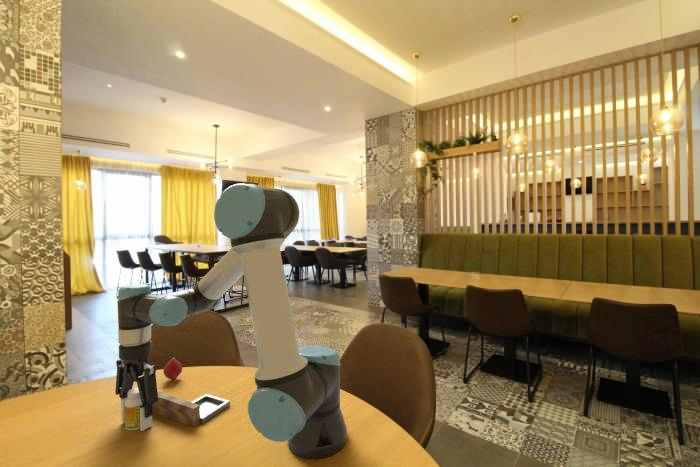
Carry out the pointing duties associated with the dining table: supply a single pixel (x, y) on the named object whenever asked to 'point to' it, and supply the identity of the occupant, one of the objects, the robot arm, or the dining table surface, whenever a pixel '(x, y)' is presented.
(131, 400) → the supplement bottle
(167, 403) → the door edge rail
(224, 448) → the dining table surface
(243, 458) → the dining table surface
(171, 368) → the onion
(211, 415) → the socket
